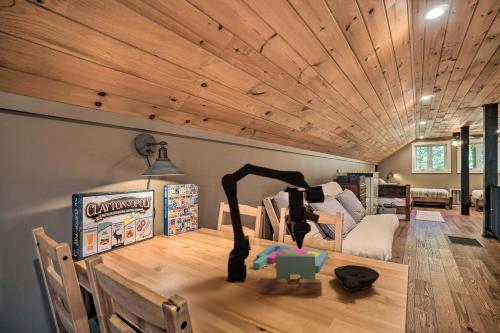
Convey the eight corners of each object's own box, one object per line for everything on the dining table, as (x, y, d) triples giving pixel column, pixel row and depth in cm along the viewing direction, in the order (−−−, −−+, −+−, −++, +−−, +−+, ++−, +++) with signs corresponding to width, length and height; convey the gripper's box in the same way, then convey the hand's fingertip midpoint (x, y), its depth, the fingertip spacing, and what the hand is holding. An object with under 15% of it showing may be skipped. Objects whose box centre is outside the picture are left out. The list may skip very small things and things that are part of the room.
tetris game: (272, 249, 126) (247, 268, 102) (272, 243, 127) (247, 261, 102) (328, 257, 113) (314, 281, 89) (328, 251, 114) (314, 274, 89)
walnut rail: (259, 293, 79) (259, 281, 79) (260, 290, 82) (260, 278, 82) (321, 295, 78) (321, 282, 78) (320, 291, 80) (319, 279, 81)
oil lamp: (324, 292, 80) (324, 277, 80) (339, 272, 96) (339, 259, 96) (374, 306, 71) (374, 289, 72) (382, 281, 88) (381, 267, 88)
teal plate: (276, 280, 89) (276, 256, 89) (276, 277, 92) (276, 253, 92) (315, 281, 88) (315, 256, 88) (313, 277, 91) (313, 253, 91)
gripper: (325, 206, 83) (326, 252, 83) (310, 200, 102) (311, 237, 101) (293, 207, 83) (294, 253, 82) (283, 201, 101) (284, 238, 101)
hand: (297, 245), depth 92 cm, fingers open, 9 cm apart
